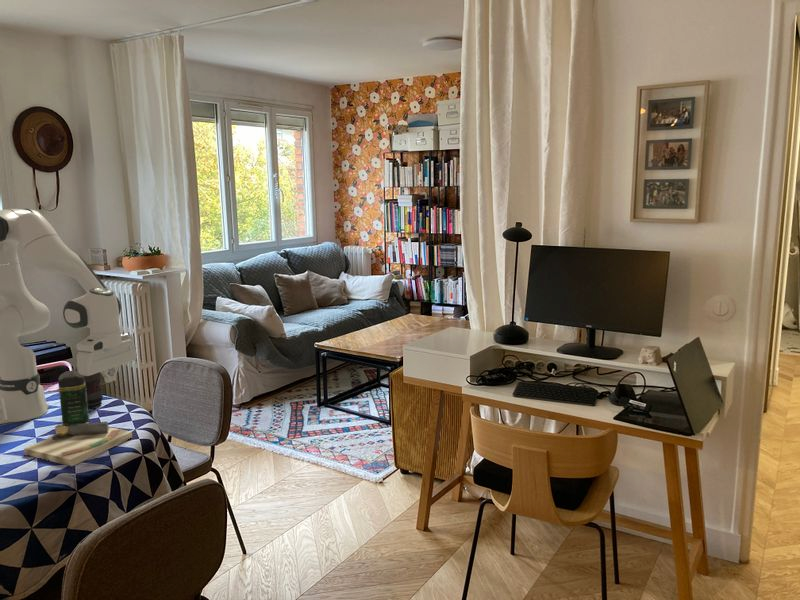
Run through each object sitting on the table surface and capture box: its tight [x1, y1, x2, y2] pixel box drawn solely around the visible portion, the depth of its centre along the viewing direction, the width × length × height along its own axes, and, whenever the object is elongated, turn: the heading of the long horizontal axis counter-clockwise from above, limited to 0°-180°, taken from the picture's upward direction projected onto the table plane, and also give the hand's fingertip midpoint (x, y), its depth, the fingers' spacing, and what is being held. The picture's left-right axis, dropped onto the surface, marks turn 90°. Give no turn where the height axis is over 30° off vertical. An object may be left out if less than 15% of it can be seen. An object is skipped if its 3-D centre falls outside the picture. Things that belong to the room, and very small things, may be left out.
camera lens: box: [75, 366, 103, 410], centre depth 226 cm, size 8×8×15 cm
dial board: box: [23, 426, 133, 467], centre depth 193 cm, size 20×22×2 cm
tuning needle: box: [54, 421, 109, 438], centre depth 196 cm, size 15×4×3 cm, turn 101°
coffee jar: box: [57, 369, 90, 424], centre depth 207 cm, size 10×8×19 cm
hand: (110, 381), depth 200 cm, fingers closed
